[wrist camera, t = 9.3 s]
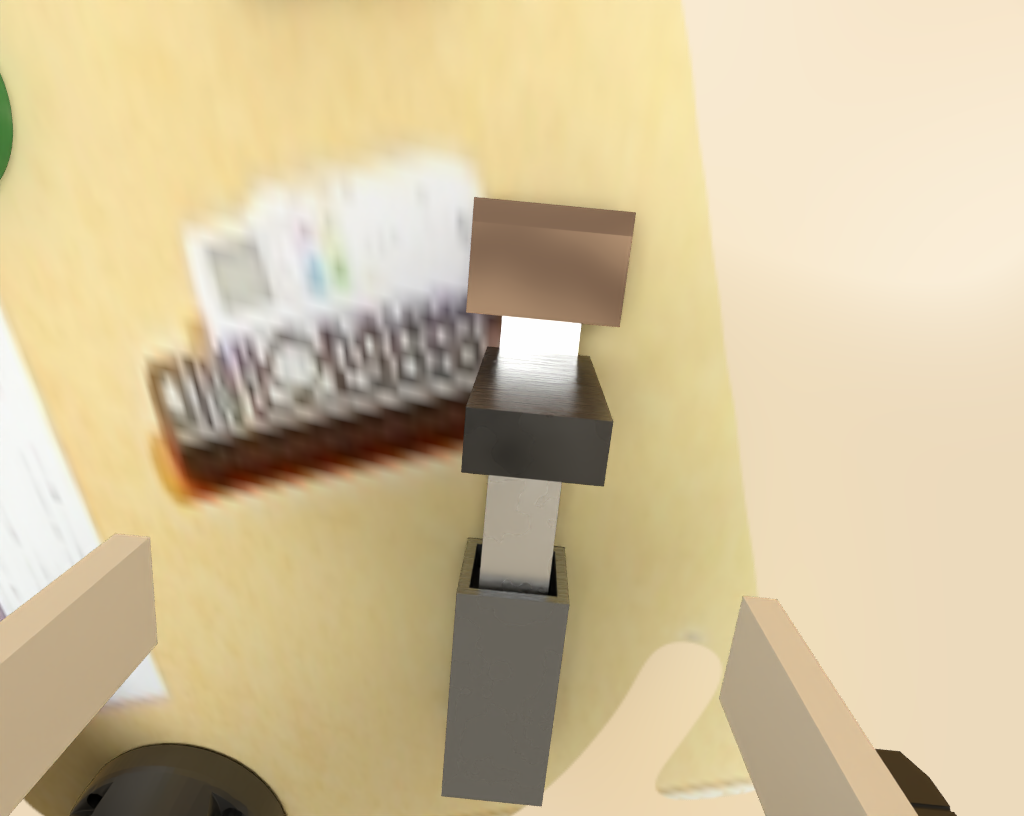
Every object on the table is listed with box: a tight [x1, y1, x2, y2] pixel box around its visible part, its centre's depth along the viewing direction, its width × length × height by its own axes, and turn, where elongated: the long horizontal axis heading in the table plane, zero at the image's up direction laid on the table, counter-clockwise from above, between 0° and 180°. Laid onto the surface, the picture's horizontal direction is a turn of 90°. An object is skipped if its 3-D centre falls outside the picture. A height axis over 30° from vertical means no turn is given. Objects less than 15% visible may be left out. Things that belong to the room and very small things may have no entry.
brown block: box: [466, 197, 636, 327], centre depth 31 cm, size 5×7×6 cm
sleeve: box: [441, 538, 569, 806], centre depth 39 cm, size 14×6×6 cm, turn 175°
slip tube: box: [461, 316, 613, 596], centre depth 30 cm, size 22×5×14 cm, turn 175°
